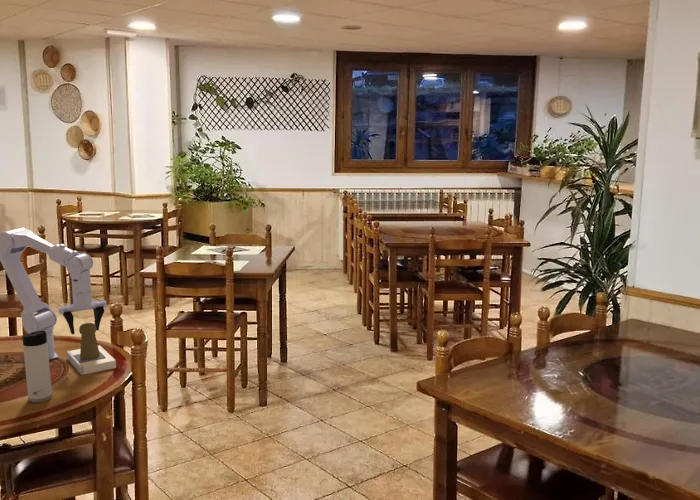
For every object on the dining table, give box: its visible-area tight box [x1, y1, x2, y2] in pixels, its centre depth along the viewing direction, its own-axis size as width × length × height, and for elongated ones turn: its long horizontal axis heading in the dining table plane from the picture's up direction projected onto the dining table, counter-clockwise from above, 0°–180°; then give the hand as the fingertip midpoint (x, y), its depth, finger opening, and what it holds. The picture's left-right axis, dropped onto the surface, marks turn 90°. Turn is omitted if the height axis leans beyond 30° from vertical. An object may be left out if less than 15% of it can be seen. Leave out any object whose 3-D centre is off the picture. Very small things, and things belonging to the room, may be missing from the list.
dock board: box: [66, 345, 117, 376], centre depth 225 cm, size 18×11×3 cm, turn 35°
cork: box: [78, 322, 100, 360], centre depth 222 cm, size 6×6×11 cm
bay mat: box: [74, 351, 106, 363], centre depth 223 cm, size 8×8×1 cm
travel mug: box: [21, 331, 53, 403], centre depth 195 cm, size 6×7×20 cm
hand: (84, 331), depth 224 cm, fingers open, 7 cm apart
